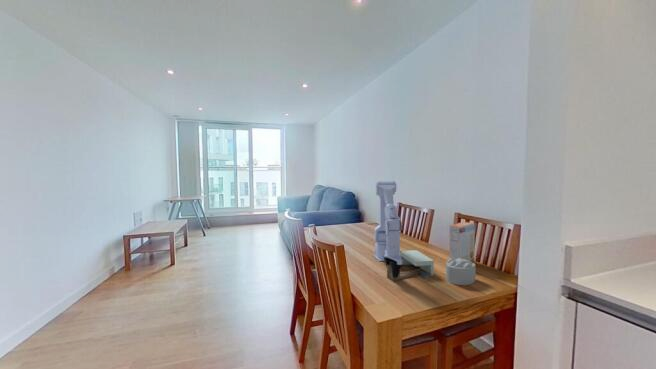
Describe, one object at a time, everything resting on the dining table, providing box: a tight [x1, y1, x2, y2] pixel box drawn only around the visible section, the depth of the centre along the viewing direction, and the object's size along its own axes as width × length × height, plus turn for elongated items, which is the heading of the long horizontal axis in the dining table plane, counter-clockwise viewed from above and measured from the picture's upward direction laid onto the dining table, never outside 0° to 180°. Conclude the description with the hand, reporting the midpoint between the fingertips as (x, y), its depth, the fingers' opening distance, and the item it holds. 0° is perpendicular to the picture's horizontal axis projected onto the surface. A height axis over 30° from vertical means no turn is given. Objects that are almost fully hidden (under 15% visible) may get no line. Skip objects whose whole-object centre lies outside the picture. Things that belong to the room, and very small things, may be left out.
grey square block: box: [418, 271, 433, 279], centre depth 120 cm, size 4×4×2 cm
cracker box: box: [449, 221, 476, 263], centre depth 135 cm, size 14×6×21 cm, turn 122°
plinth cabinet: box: [400, 249, 435, 276], centre depth 127 cm, size 16×9×7 cm, turn 10°
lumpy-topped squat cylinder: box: [445, 257, 477, 286], centre depth 115 cm, size 10×13×9 cm
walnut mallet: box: [386, 264, 425, 282], centre depth 120 cm, size 4×20×6 cm, turn 113°
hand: (392, 274), depth 117 cm, fingers closed on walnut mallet, 5 cm apart
